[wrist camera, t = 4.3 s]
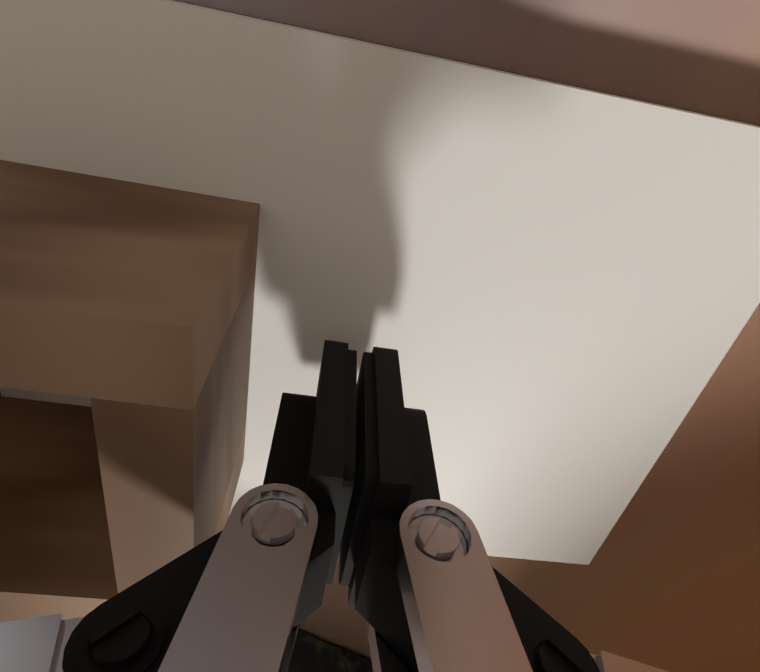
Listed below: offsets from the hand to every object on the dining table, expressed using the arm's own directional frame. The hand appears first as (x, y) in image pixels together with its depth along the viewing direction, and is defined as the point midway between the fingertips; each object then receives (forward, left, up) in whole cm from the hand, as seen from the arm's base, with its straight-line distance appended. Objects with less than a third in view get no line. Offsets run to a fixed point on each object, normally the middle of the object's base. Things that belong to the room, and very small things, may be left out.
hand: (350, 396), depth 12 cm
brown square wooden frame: (+6, 0, -1) cm, 6 cm away
